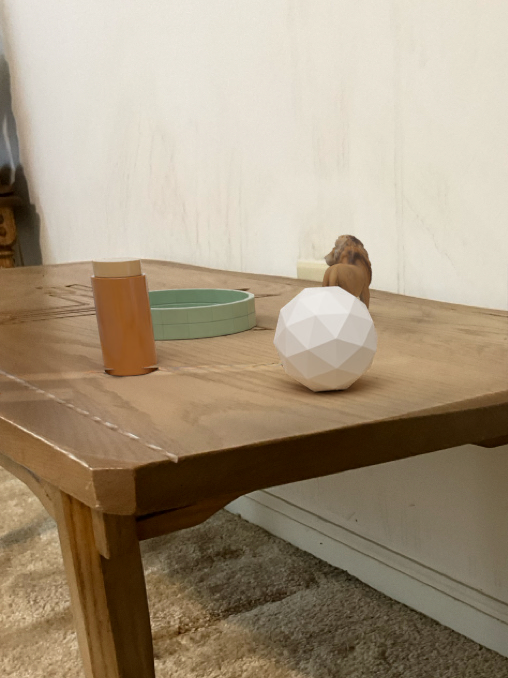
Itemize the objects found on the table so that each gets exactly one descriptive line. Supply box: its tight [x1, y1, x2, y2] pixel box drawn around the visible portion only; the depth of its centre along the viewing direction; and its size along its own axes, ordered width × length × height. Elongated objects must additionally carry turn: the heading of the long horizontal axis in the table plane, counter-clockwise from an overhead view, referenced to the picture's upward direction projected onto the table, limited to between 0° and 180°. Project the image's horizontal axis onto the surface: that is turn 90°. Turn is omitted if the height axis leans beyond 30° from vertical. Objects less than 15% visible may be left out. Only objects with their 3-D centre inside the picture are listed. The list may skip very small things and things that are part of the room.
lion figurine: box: [321, 234, 373, 310], centre depth 89 cm, size 15×5×9 cm, turn 0°
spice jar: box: [89, 256, 159, 377], centre depth 70 cm, size 4×4×9 cm
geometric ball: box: [272, 286, 379, 393], centre depth 64 cm, size 8×8×8 cm
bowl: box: [149, 287, 257, 341], centre depth 88 cm, size 15×15×4 cm
